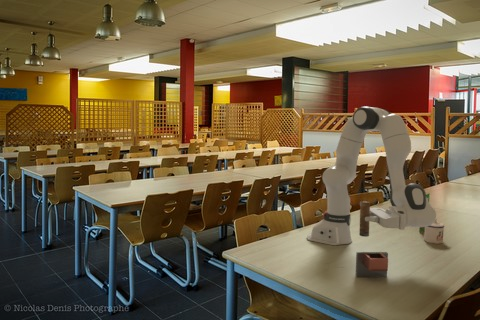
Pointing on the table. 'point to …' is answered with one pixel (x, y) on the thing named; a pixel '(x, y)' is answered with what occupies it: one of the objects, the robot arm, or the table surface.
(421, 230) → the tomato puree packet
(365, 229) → the brown cylinder
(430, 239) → the teacup with lid
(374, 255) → the drawer
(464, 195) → the table surface
